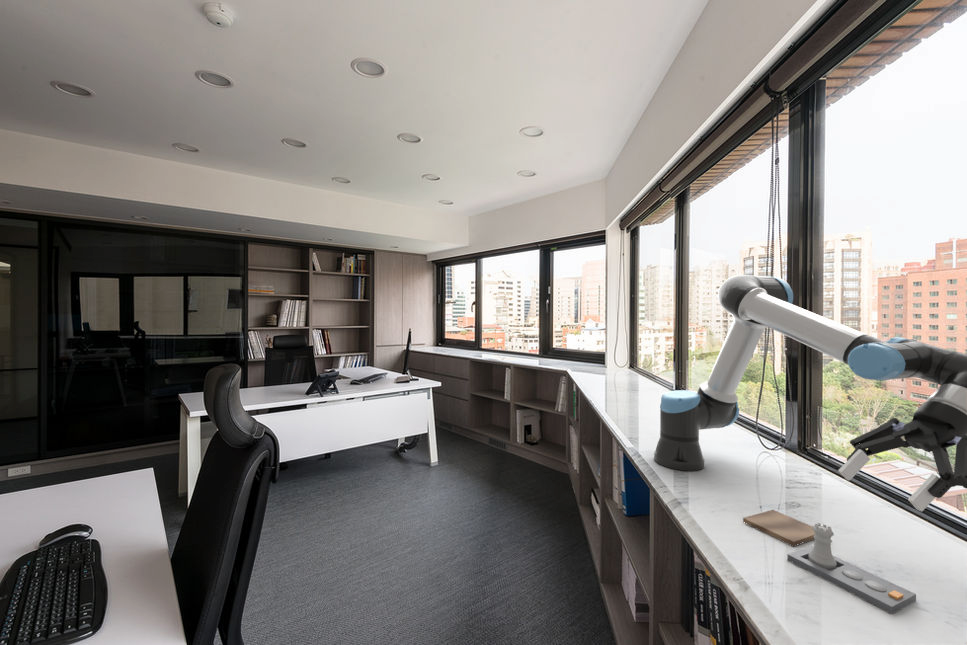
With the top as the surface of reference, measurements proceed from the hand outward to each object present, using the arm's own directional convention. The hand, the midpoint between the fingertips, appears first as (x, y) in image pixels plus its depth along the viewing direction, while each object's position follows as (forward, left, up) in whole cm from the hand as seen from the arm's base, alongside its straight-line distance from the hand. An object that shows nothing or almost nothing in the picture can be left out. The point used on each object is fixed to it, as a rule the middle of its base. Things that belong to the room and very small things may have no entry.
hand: (876, 489), depth 80 cm
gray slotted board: (0, -10, -15) cm, 18 cm away
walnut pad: (-16, -2, -15) cm, 22 cm away
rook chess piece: (-4, -10, -15) cm, 19 cm away
